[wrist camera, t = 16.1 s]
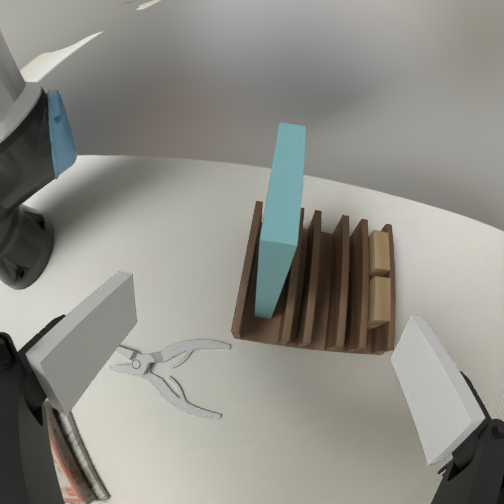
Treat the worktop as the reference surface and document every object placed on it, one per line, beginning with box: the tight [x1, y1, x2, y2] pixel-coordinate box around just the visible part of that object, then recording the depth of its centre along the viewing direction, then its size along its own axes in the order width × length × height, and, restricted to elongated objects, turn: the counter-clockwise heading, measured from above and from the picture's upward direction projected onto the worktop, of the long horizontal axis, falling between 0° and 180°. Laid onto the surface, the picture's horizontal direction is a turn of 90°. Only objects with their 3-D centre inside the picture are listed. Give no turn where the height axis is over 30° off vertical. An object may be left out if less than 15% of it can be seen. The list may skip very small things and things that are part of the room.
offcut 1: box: [368, 230, 390, 281], centre depth 33 cm, size 2×5×6 cm, turn 170°
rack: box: [231, 201, 395, 355], centre depth 32 cm, size 19×16×6 cm
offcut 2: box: [367, 276, 391, 330], centre depth 30 cm, size 2×5×6 cm, turn 170°
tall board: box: [255, 123, 306, 319], centre depth 26 cm, size 2×10×20 cm, turn 171°
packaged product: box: [43, 398, 109, 504], centre depth 22 cm, size 18×5×10 cm
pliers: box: [109, 340, 230, 418], centre depth 30 cm, size 10×2×15 cm
